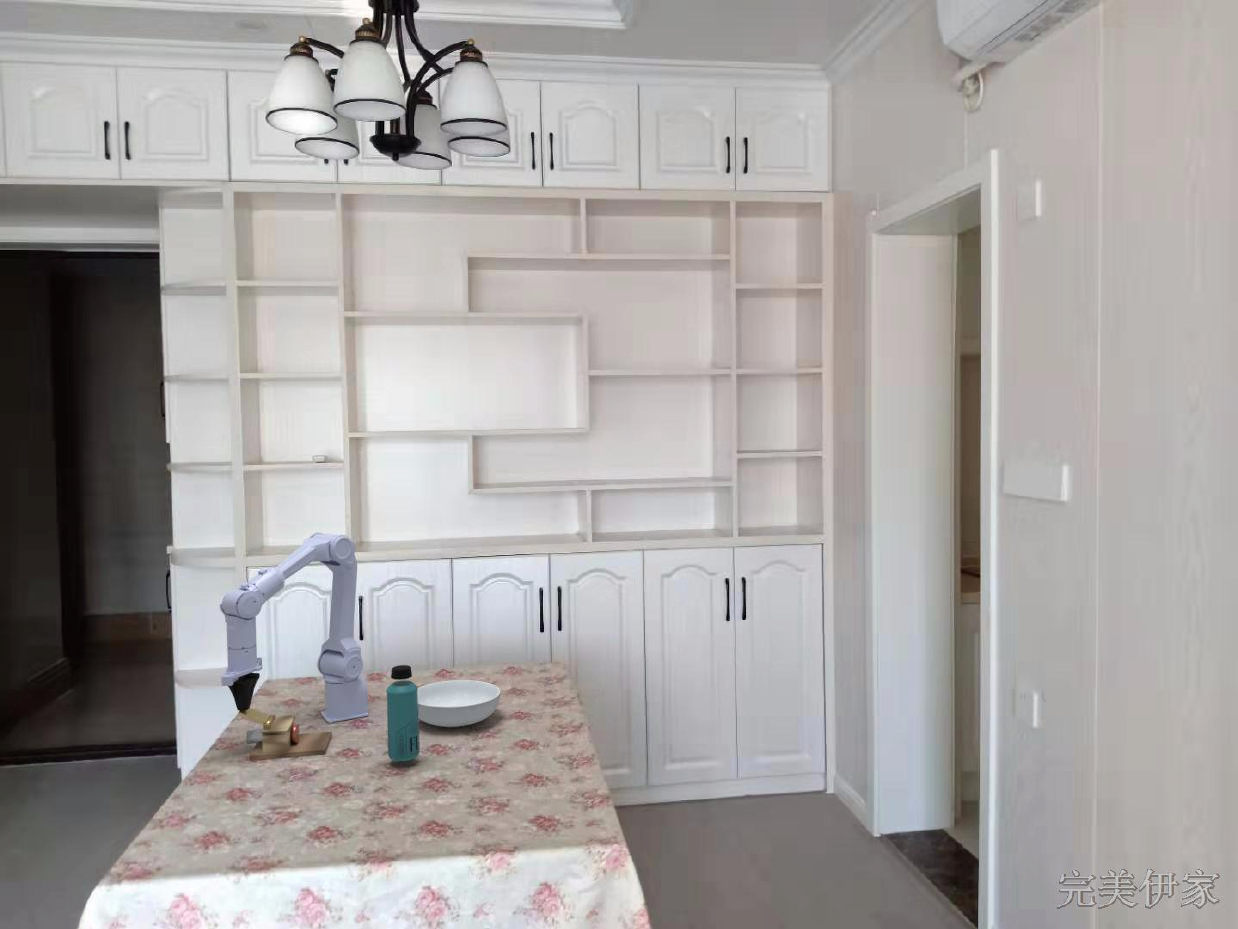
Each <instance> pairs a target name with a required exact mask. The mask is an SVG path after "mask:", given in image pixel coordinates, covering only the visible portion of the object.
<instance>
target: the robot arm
mask: <svg viewBox="0 0 1238 929" xmlns="http://www.w3.org/2000/svg"><path fill="white" fill-rule="evenodd" d="M355 553H356V543H355V541H353V540H352V539H351V538H350V537H349V536H348V535H346V534H330V533H323V532H315V533H312V534H311V535H310V536H309V537H307V538H305V539H304V540H303V541H302V545H300V546H299V547H297V549H296V550H294V552H292V553H291V554H290V555H288V556H287V557H285V559H284V560H283V561H281V562H280V563H279V564H277V566H275V567H274V568H273V567H266V568H261V569H259V570H258V571H257V574H256V575H255V576H254V577H252V578H251V579H250V580H247V582H243V583H242V584H241V585H240V587H239V589H238V588H237V589H231V590H229V591H228V592H226V593H225V595H223V597H222V601H221V603H220V604H219V609H220V611H221V614H223V615H224V620H225V623H226V647H227V648H226V651H227V652H226V653H227V654H226V655H227V667H226V669H225V672H224V674H223V675H222V676H221V679H220V680H221V687H225V686H226V687H228V689H229V691H230V692H231V694H232V697H233V699H234V703H235V706H236V709H237V711H240V710H248V709H249V708H251V704H252V700H253V695H254V691H255V688H256V685H257V682H258V681H259V679H260V673H259V672H260V671H262V670H263V657H258V655H257V653H258V652H257V616H258V615H259V614H260V612H261V611H262V607H263V605H264V604H265V603H266V602H267V601H269V600H270V599H271V598H272V597H274V596H275V595H276V594H277V593H279V592H280V591H282V590H283V589H284V587H285V581H286V580H287V579H289V578H290V577H292V576H293V575H295V574H296V573H297V572H299V571H300V570H302V569H304V568H306V566H308V565H309V564H311V563H313V562H314V563H315V562H320V563H321V564H323V565H324V566H325V567H327V568H328V570H330V571H331V572H332V581H331V583H332V584H331V600H330V614H329V615H330V617H329V632H328V639H327V640H325V642H323V643H322V645H321V650H320V654H319V656H318V658H317V662H316V667H317V670H318V672H319V673H320V674H321V675H322V680H324V701H325V702H324V706H325V710H324V711H321V712H320V715H321V716H322V718H324V720H325V721H326V722H327V723H329V724H330V723H337V722H341V721H346V720H352V719H358V718H363V717H368V716H369V711H368V710H369V706H368V705H369V704H368V684H367V680H366V677H365V676H364V675H361V673H362V671H363V667H364V661H363V658H362V654H361V653H362V652H361V651H362V648H361V646H360V645H359V644H358V643H357V641H356V640H355V639H354V626H355V611H356V597H357V596H356V595H357V578H358V576H357V575H358V561H357V557H356V554H355Z"/></svg>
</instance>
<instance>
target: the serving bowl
mask: <svg viewBox="0 0 1238 929" xmlns="http://www.w3.org/2000/svg"><path fill="white" fill-rule="evenodd" d="M417 696H418V703H419V704H418V709H419V710H418V711H419V712H418V719H419V720H421V721H423V722H424V723H427V724H429V725H433V726H436V727H445V728H461V727H460V726H462V727H465V725H466V726H470V725H473V724H474V725H475V724H476V723H479V722H482V721H483V720H485V719H488V718H489V717H491V715H492V714H493V713H494V712H495V710H497V709H496V708H497V707H498V706H499V702H500V699H501V698H500V697H501V689H500V688H499V687H498V686H497V685H495V684H493V683H490V682H486V681H481V680H472V679H453V680H452V679H451V680H442V681H438V682H437V681H435V682H432V683H429V684H424V685H422V686H419V687H418V689H417Z"/></svg>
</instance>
